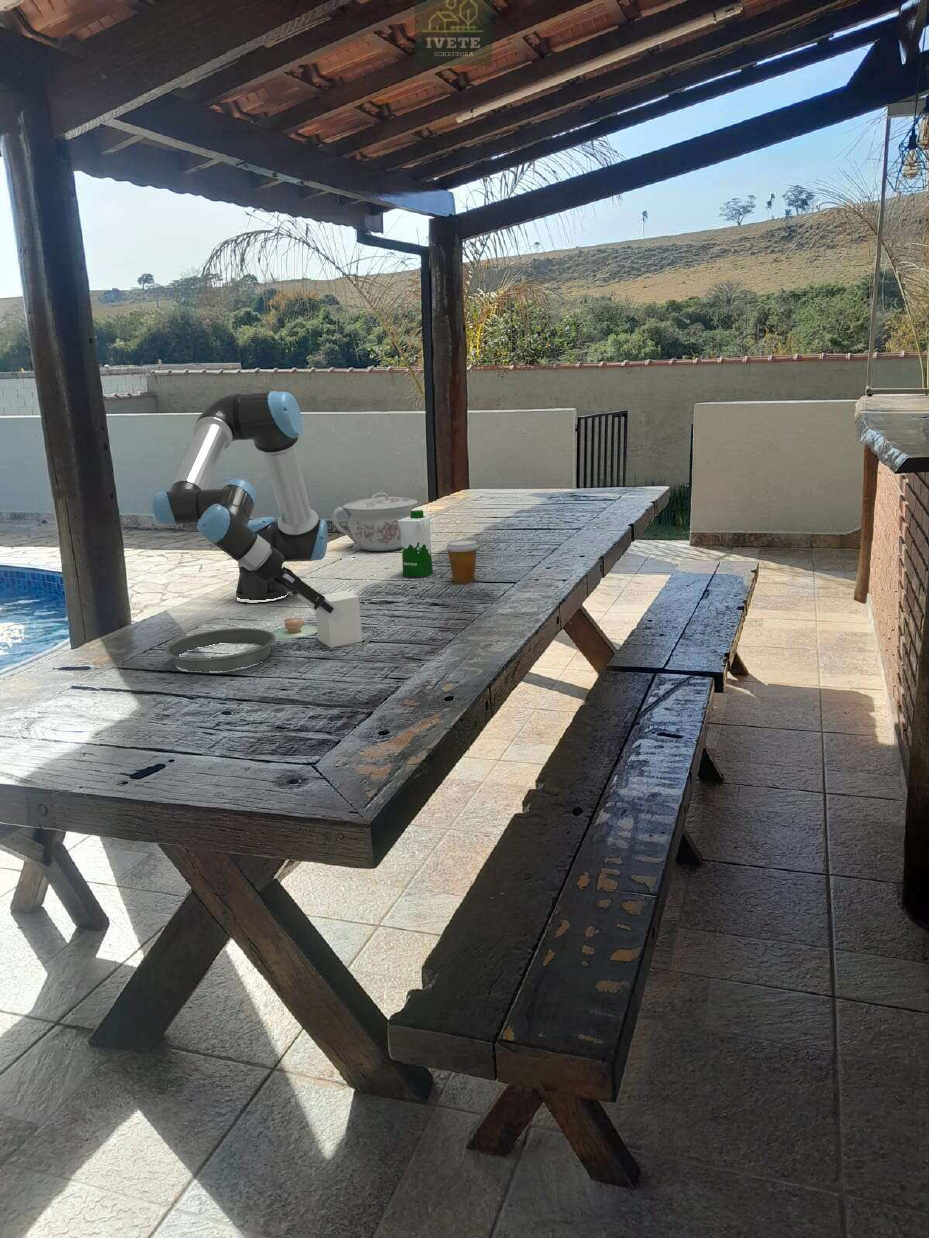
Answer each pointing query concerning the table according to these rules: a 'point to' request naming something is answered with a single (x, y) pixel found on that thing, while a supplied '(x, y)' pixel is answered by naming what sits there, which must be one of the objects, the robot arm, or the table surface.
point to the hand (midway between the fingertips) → (330, 613)
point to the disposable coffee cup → (462, 560)
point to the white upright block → (348, 625)
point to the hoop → (215, 638)
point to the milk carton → (416, 545)
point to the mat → (365, 642)
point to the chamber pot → (375, 521)
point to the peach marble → (293, 625)
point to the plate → (305, 631)
